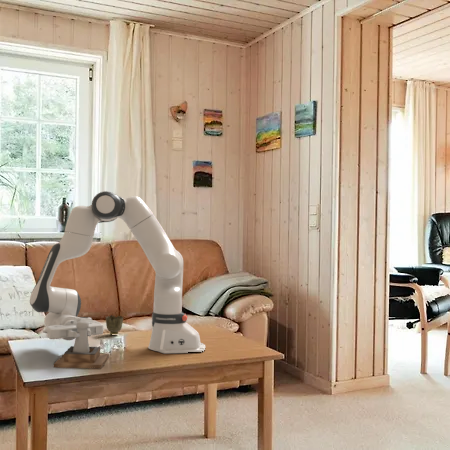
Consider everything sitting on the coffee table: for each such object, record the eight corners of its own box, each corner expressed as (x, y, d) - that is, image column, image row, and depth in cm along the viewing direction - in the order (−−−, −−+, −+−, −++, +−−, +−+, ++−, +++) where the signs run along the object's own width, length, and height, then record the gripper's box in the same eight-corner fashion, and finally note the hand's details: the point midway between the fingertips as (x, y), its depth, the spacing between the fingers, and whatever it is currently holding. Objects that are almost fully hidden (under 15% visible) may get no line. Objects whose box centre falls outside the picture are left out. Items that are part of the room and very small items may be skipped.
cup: (124, 333, 255) (125, 315, 255) (120, 337, 248) (120, 318, 247) (108, 333, 256) (108, 314, 255) (102, 336, 248) (103, 317, 248)
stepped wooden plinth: (108, 356, 214) (109, 345, 214) (101, 368, 198) (101, 356, 198) (64, 355, 213) (65, 344, 213) (53, 367, 197) (53, 354, 197)
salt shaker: (78, 361, 202) (80, 324, 201) (69, 357, 206) (70, 321, 205) (92, 358, 206) (94, 322, 206) (83, 354, 210) (84, 319, 209)
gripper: (40, 321, 209) (55, 328, 198) (94, 317, 222) (110, 323, 211) (40, 338, 209) (54, 346, 198) (93, 333, 222) (109, 340, 211)
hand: (83, 334), depth 205 cm, fingers closed on salt shaker, 3 cm apart
